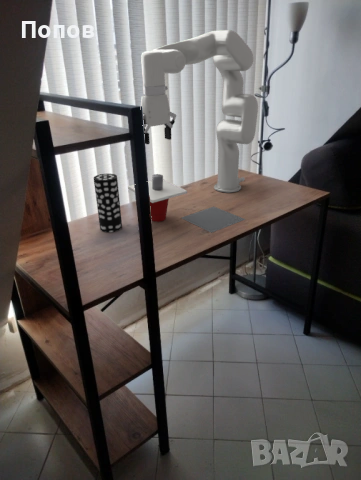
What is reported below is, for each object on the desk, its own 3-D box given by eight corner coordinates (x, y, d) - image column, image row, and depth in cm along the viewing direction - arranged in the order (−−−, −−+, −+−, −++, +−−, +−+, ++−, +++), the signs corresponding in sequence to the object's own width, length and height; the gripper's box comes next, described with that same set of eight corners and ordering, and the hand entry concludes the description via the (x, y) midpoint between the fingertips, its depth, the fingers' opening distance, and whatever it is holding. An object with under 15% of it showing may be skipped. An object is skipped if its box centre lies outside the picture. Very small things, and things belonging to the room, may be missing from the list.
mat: (213, 207, 163) (213, 206, 162) (245, 220, 150) (245, 219, 150) (180, 218, 153) (180, 217, 153) (211, 233, 140) (211, 232, 140)
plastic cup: (160, 227, 146) (158, 197, 140) (139, 221, 152) (137, 192, 146) (178, 218, 153) (177, 189, 148) (157, 212, 159) (155, 184, 154)
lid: (162, 180, 157) (162, 166, 154) (187, 193, 146) (187, 178, 143) (128, 188, 148) (127, 173, 145) (152, 202, 137) (152, 187, 134)
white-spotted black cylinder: (122, 231, 144) (117, 179, 135) (99, 233, 143) (93, 181, 134) (121, 222, 151) (116, 172, 142) (100, 224, 150) (93, 174, 141)
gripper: (168, 88, 139) (170, 135, 147) (127, 92, 130) (131, 143, 138) (181, 89, 134) (182, 139, 142) (139, 94, 125) (143, 147, 133)
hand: (157, 141), depth 140 cm, fingers open, 9 cm apart
